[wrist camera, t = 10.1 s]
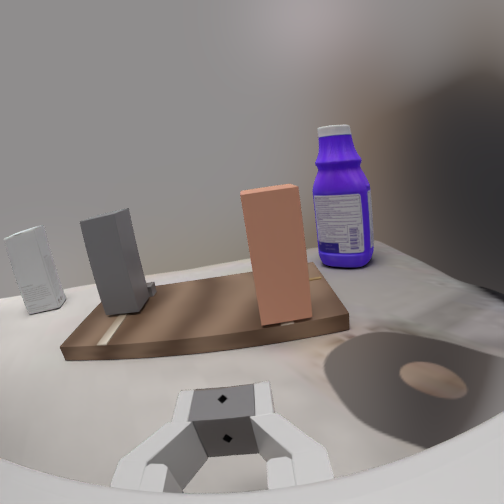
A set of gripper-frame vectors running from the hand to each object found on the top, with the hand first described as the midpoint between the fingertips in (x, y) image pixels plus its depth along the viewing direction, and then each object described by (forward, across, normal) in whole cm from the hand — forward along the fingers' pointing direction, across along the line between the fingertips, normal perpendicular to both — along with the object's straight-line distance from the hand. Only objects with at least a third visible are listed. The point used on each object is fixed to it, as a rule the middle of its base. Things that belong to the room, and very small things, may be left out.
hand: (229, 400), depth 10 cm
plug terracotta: (+15, -3, +4) cm, 16 cm away
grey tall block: (+21, +13, +4) cm, 25 cm away
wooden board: (+20, +5, +6) cm, 22 cm away
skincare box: (+28, +31, +6) cm, 43 cm away
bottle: (+30, -13, +6) cm, 33 cm away
